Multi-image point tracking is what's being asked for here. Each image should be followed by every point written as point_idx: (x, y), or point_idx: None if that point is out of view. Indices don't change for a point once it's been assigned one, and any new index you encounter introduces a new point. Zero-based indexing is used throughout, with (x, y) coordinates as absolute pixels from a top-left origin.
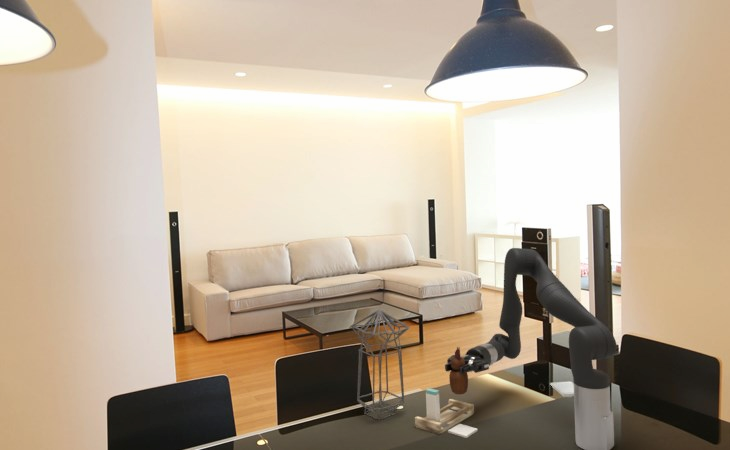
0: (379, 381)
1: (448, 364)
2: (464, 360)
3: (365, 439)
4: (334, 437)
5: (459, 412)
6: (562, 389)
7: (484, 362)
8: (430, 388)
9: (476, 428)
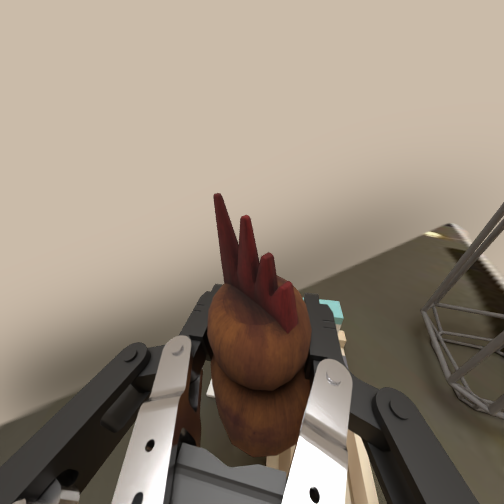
0: (462, 258)
1: (305, 300)
2: (208, 319)
3: (357, 275)
4: (393, 264)
5: (280, 463)
6: None
7: (12, 464)
8: (338, 317)
9: (209, 394)
